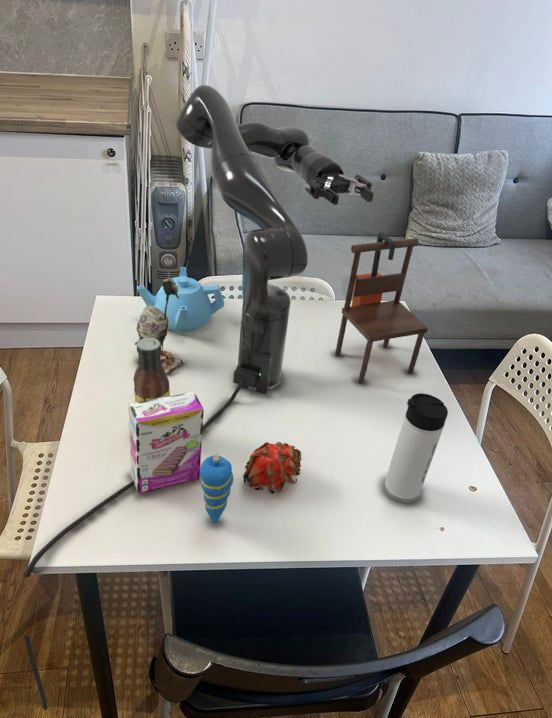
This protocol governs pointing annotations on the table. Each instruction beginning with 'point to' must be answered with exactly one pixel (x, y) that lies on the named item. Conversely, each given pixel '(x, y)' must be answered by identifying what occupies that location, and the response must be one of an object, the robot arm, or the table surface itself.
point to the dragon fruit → (272, 466)
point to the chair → (380, 306)
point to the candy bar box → (165, 441)
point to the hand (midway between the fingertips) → (354, 199)
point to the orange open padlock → (374, 273)
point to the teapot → (185, 303)
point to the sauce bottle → (150, 372)
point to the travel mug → (415, 447)
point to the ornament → (216, 485)
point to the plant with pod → (159, 326)
